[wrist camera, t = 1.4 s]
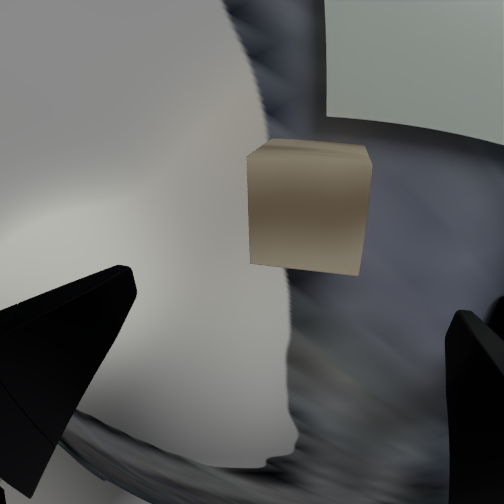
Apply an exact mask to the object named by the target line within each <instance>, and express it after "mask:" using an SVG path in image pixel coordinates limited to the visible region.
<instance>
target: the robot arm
mask: <svg viewBox="0 0 504 504" xmlns="http://www.w3.org/2000/svg"><path fill="white" fill-rule="evenodd" d="M136 295H137V289H136V284H135V280H134V276H133V272H132V270H131V268H130V267H128V266H123V265H116V266H113V267H111V268H108V269H105V270H103V271H100V272H97V273H95V274H92V275H89V276H87V277H84V278H81V279H79V280H76V281H74V282H71V283H68V284H66V285H63V286H61V287H58V288H56V289H53V290H51V291H48V292H45V293H43V294H40V295H38V296H36V297H33V298H30V299H28V300H25V301H23V302H20V303H19V304H15V305H13V306H10V307H8V308H6V309H3V310H0V482H1V480H4V481H5V482H6V483H8V484H9V485H10V486H12V487H13V488H15V489H16V490H18V491H19V492H20V493H22V494H23V495H25V496H26V497H28V498H29V499H30V498H31V497H32V496H33V494H34V492H35V489H36V487H37V485H38V483H39V481H40V479H41V477H42V474H43V472H44V470H45V468H46V466H47V464H48V462H49V460H50V458H51V456H52V454H53V452H54V450H55V448H56V447H55V446H56V445H57V444H58V442H59V440H60V438H61V436H62V434H63V432H64V430H65V428H66V426H67V424H68V422H69V420H70V419H71V417H72V415H73V413H74V411H75V409H76V407H77V406H78V404H79V402H80V400H81V398H82V396H83V395H84V393H85V391H86V389H87V387H88V385H89V384H90V382H91V380H92V379H93V377H94V375H95V373H96V372H97V370H98V368H99V366H100V365H101V363H102V361H103V360H104V358H105V356H106V354H107V353H108V351H109V349H110V348H111V346H112V344H113V343H114V341H115V339H116V337H117V335H118V333H119V331H120V329H121V327H122V325H123V323H124V321H125V319H126V317H127V315H128V313H129V311H130V309H131V307H132V305H133V303H134V300H135V298H136ZM445 362H446V399H447V411H448V426H449V453H450V477H449V503H448V504H504V296H503V297H502V298H500V300H499V302H498V304H497V307H496V309H495V311H494V313H493V316H492V318H491V320H490V322H489V324H488V326H487V325H486V324H485V323H484V322H483V321H482V320H481V319H479V318H478V317H477V316H476V315H475V314H474V313H473V312H472V311H468V310H458V311H456V313H455V314H454V317H453V319H452V321H451V324H450V326H449V328H448V331H447V333H446V336H445ZM0 504H6V501H5V494H4V489H3V488H2V487H0Z"/></svg>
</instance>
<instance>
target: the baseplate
mask: <svg viewBox="0 0 504 504" xmlns="http://www.w3.org/2000/svg"><path fill="white" fill-rule="evenodd" d="M324 2H325V23H326V59H327V116H328V117H342V118H353V119H363V120H373V121H381V122H389V123H397V124H404V125H410V126H417V127H423V128H428V129H434V130H440V131H445V132H450V133H455V134H459V135H464V136H469V137H473V138H477V139H482V140H486V141H490V142H494V143H497V144H501V145H504V0H324Z"/></svg>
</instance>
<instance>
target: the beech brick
mask: <svg viewBox="0 0 504 504" xmlns="http://www.w3.org/2000/svg"><path fill="white" fill-rule="evenodd" d="M372 166H373V165H372V163H371V160H370V158H369V155H368V153H367V150H366V148H365V146H364V145H359V144H349V143H338V142H326V141H311V140H293V139H271V140H269V141H268V142H266V143H265V144H264V145H262V146H261V147H259V148H258V149H257V150H255V151H254V152H252V153H251V154H250V155H248V156H247V182H248V214H249V245H250V263H251V264H258V265H267V266H275V267H283V268H292V269H300V270H309V271H318V272H327V273H336V274H345V275H354V276H358V275H359V269H360V263H361V257H362V250H363V244H364V237H365V229H366V222H367V214H368V206H369V197H370V187H371V177H372Z"/></svg>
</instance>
